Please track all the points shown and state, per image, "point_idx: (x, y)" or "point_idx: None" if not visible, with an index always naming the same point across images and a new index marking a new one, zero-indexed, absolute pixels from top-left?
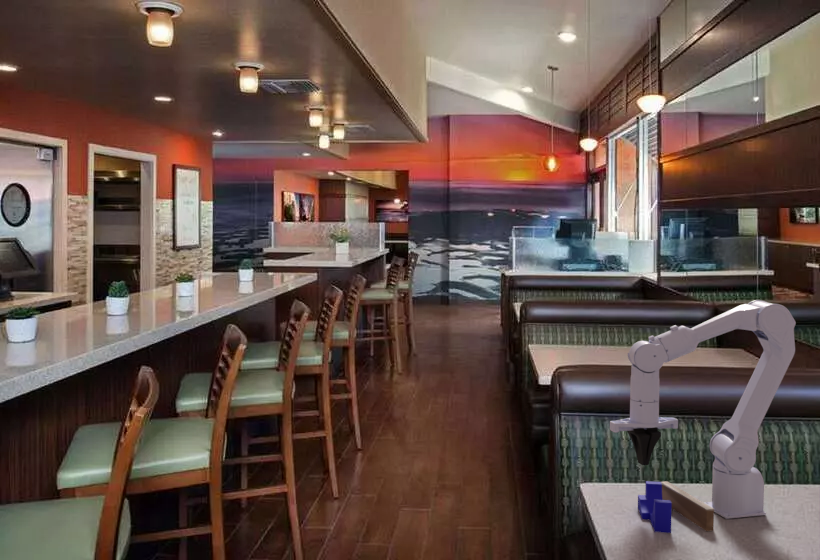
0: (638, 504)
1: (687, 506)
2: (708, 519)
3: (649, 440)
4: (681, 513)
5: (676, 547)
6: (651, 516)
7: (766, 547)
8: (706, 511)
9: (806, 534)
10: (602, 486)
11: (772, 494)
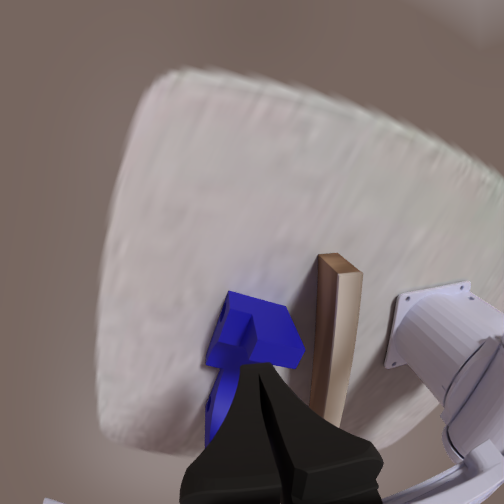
0: (226, 304)
1: (321, 381)
2: None
3: (280, 501)
4: (315, 346)
5: None
6: (217, 386)
7: None
8: None
9: (434, 403)
10: (201, 97)
11: None
